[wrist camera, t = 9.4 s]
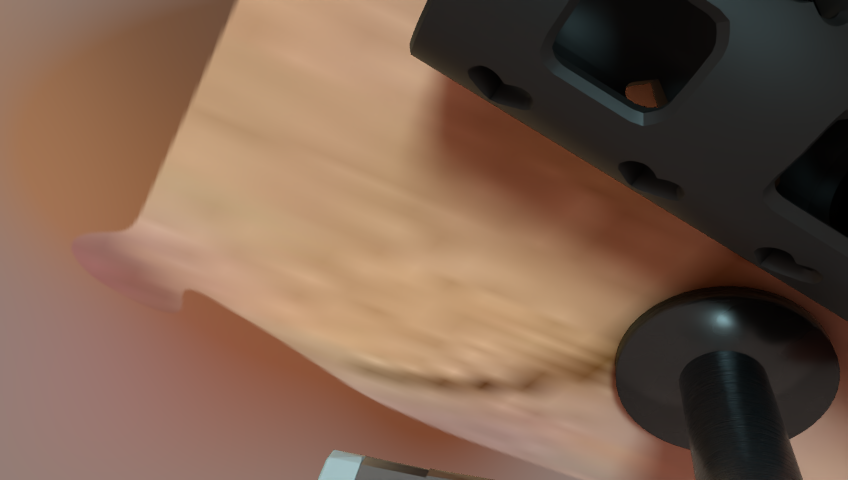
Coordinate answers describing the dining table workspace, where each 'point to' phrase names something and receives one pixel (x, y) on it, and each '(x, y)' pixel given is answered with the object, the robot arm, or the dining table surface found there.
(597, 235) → the dining table surface
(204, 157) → the dining table surface
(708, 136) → the muzzle brake
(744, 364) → the posts
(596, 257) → the dining table surface
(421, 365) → the dining table surface
